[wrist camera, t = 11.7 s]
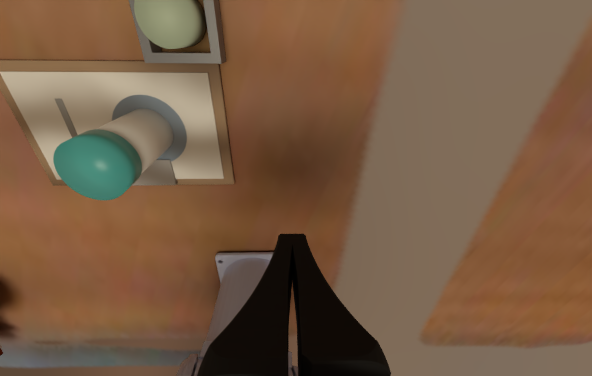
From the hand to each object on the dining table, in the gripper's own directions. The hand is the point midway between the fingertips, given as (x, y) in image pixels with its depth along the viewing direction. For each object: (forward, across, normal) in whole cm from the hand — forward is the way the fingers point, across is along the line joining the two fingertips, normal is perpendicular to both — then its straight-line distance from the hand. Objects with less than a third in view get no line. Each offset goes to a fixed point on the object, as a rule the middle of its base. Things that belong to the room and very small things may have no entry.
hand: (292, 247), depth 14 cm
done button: (+10, +7, -11) cm, 16 cm away
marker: (+10, +11, -3) cm, 15 cm away
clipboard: (+10, +13, -3) cm, 17 cm away
